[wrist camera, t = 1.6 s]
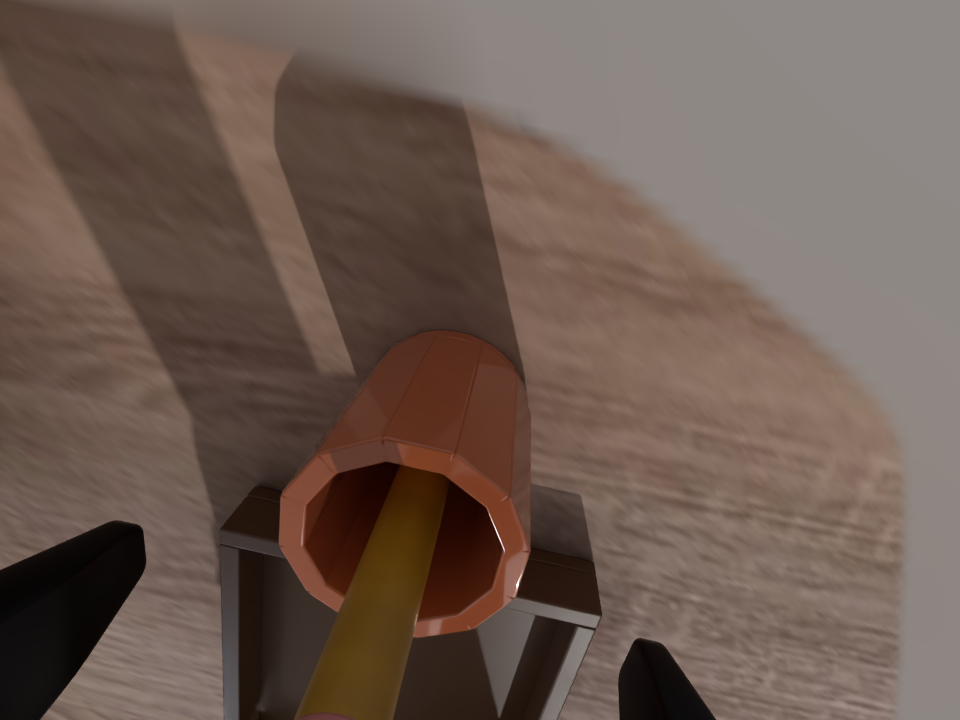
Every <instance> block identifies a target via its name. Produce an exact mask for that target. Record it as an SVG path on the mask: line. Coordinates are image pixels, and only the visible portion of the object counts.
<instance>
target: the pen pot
mask: <svg viewBox="0 0 960 720" xmlns="http://www.w3.org/2000/svg"><path fill="white" fill-rule="evenodd" d="M400 465H404V466H408V467H413V468H417V469H422V470H426V471H431V472H435V473H440V474H443V475H445V476H446V477H447V478H448V479H450V480H451V482H450V486H449V490H448V494H447V498H446V503H445V507H444V511H443V515H442V519H441V523H440V527H439V531H438V536H437V540H436V544H435V548H434V552H433V556H432V560H431V564H430V569H429V573H428V577H427V581H426V585H425V589H424V593H423V598H422V602H421V606H420V610H419V614H418V618H417V622H416V626H415V631H414V635H413V638H415V637H416V638H423V637H429V636H436V635H442V634H449V633H455V632H462V631H468V630H471V629H475V628H476V627H477V626H479V625H480V624H481V623H483V622H484V621H486V620H487V619H488V618H490V617H491V616H492V615H494V614H495V613H497V612H498V611H499V610H501V609H502V608H503V607H505V606H506V605H508V604H509V603H510V602H512V601H513V600H514V598H515V597H516V595H517V593H518V590H519V586H520V583H521V580H522V577H523V574H524V571H525V568H526V565H527V561H528V558H529V555H530V552H531V413H530V410H529V407H528V399H527V393H526V389H525V386H524V384H523V381H522V379H521V377H520V375H519V373H518V371H517V370H516V368H515V367H514V366H513V364H512V363H511V362H510V360H509V359H508V358H507V357H506V356H505V355H504V354H502V353H501V352H500V351H499V350H498V349H496V348H495V347H494V346H492V345H490V344H489V343H487V342H485V341H484V340H481V339H479V338H477V337H474V336H472V335H468V334H465V333H461V332H455V331H441V330H439V331H428V332H424V333H419V334H416V335H413V336H411V337H408V338H406V339H404V340H402V341H400V342H398V343H397V344H396V345H394V346H393V347H392V348H390V349H389V350H388V351H387V352H386V353H385V354H384V355H383V357H382V358H381V359H380V361H379V362H378V363H377V364H376V366H375V367H374V368H373V369H372V370H371V371H370V372H369V374H368V375H367V376H366V377H365V379H364V380H363V381H362V383H361V384H360V385H359V387H358V388H357V389H356V391H355V392H354V394H353V395H352V396H351V398H350V399H349V400H348V402H347V403H346V405H345V406H344V407H343V409H342V410H341V411H340V413H339V414H338V415H337V417H336V418H335V420H334V421H333V422H332V424H331V425H330V426H329V428H328V429H327V431H326V432H325V433H324V435H323V436H322V437H321V439H320V440H319V442H318V443H317V444H316V446H315V447H314V448H313V450H312V451H311V452H310V454H309V455H308V457H307V458H306V459H305V461H304V462H303V463H302V465H301V466H300V468H299V469H298V470H297V472H296V473H295V474H294V476H293V477H292V478H291V480H290V481H289V483H288V484H287V485H286V487H285V488H284V489H283V491H282V494H281V499H280V523H279V545H280V549H281V550H282V552H283V554H284V555H285V557H286V558H287V560H288V562H289V563H290V565H291V567H292V568H293V570H294V572H295V573H296V575H297V577H298V578H299V580H300V581H301V583H302V585H303V586H304V588H305V590H306V591H309V594H310V595H312V596H313V597H315V598H316V599H318V600H319V601H321V602H322V603H324V604H325V605H327V606H328V607H330V608H331V609H333V610H334V611H336V612H337V613H338V612H339V610H340V608H341V605H342V603H343V600H344V598H345V596H346V593H347V591H348V588H349V586H350V584H351V581H352V579H353V576H354V574H355V572H356V569H357V567H358V564H359V562H360V560H361V557H362V555H363V552H364V550H365V548H366V545H367V543H368V540H369V538H370V536H371V533H372V531H373V528H374V526H375V524H376V521H377V519H378V516H379V514H380V512H381V509H382V507H383V504H384V502H385V500H386V497H387V495H388V492H389V490H390V488H391V485H392V483H393V480H394V478H395V476H396V473H397V471H398V468H399V466H400Z"/></svg>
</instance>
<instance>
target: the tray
mask: <svg viewBox="0 0 960 720" xmlns="http://www.w3.org/2000/svg"><path fill="white" fill-rule="evenodd" d="M281 494H282V492H279V491H275V490H270V489H266V488H261V487H257V486H255V487H254V488H253V489H252V490H251V492H250V493H249V494H248V496H247V497H246V498H245V499H244V500H243V502H242V503H241V504H240V505H239V506H238V508H237V509H236V510H235V511H234V513H233V514H232V515H231V516H230V517H229V519H228V520H227V521H226V522H225V524H224V525H223V526H222V527H221V529H220V543H221V544H220V568H221V611H222V655H223V698H224V720H294V718H295V716H296V713H297V711H298V708H299V706H300V704H301V701H302V699H303V696H304V694H305V692H306V689H307V687H308V684H309V682H310V680H311V677H312V675H313V672H314V670H315V668H316V665H317V663H318V660H319V658H320V656H321V653H322V651H323V648H324V646H325V644H326V641H327V639H328V636H329V634H330V632H331V629H332V627H333V624H334V622H335V620H336V617H337V615H338V613H337V612H336V611H334V610H333V609H331V608H330V607H328V606H327V605H325V604H324V603H322V602H321V601H319V600H318V599H316V598H315V597H313V596H312V595H310V594H309V591H306V590H305V588H304V586H303V585H302V583H301V581H300V580H299V578H298V577H297V575H296V573H295V572H294V570H293V568H292V567H291V565H290V563H289V562H288V560H287V558H286V557H285V555H284V554H283V552H282V550H281V549H280V545H279V523H280V499H281ZM601 617H602V612H601V605H600V599H599V592H598V586H597V579H596V572H595V565H594V563H593V562H590V561H586V560H581V559H577V558H572V557H568V556H563V555H559V554H555V553H550V552H546V551H541V550H537V549H532V548H531V552H530V555H529V558H528V561H527V565H526V568H525V571H524V574H523V577H522V580H521V583H520V586H519V590H518V593H517V595H516V597H515V598H514V600H513V601H512V602H510V603H509V604H508V605H506V606H505V607H503V608H502V609H501V610H499V611H498V612H497V613H495V614H494V615H492V616H491V617H490V618H488V619H487V620H486V621H484V622H483V623H481V624H480V625H479V626H477V627H476V628H475V629H471V630H468V631H462V632H455V633H449V634H442V635H436V636H429V637H423V638H416V637H415V638H413V639H412V643H411V647H410V651H409V655H408V659H407V664H406V668H405V672H404V676H403V680H402V684H401V688H400V692H399V697H398V701H397V705H396V709H395V713H394V717H393V720H557V719H558V717H559V715H560V712H561V710H562V708H563V705H564V703H565V701H566V698H567V696H568V694H569V691H570V689H571V687H572V684H573V682H574V680H575V677H576V675H577V673H578V670H579V668H580V666H581V663H582V661H583V659H584V656H585V654H586V652H587V649H588V647H589V645H590V642H591V640H592V638H593V635H594V633H595V631H596V628H597V626H598V624H599V622H600V619H601Z"/></svg>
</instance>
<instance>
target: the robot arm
mask: <svg viewBox="0 0 960 720" xmlns="http://www.w3.org/2000/svg"><path fill="white" fill-rule="evenodd" d="M145 566H146V553H145V543H144V534H143V529H142V528H141V526H140V525H137V524H133V523H129V522H125V521H119V520H115V521H111V522H108V523H106V524H103V525H101V526H99V527H97V528H94V529H92V530H90V531H88V532H85V533H83V534H81V535H79V536H76V537H74V538H72V539H69V540H67V541H65V542H63V543H60V544H58V545H56V546H54V547H51V548H49V549H47V550H45V551H42V552H40V553H38V554H36V555H33V556H31V557H29V558H27V559H24V560H22V561H20V562H18V563H15V564H13V565H11V566H9V567H6V568H4V569H2V570H0V720H40V719H41V718H42V717H43V715H44V714H45V713H46V712H47V710H48V709H49V708H50V707H51V705H52V704H53V703H54V702H55V700H56V699H57V698H58V697H59V695H60V694H61V693H62V691H63V690H64V689H65V688H66V686H67V685H68V684H69V682H70V681H71V680H72V678H73V677H74V676H75V675H76V673H77V672H78V671H79V669H80V668H81V666H82V665H83V663H84V662H85V660H86V659H87V658H88V656H89V655H90V653H91V652H92V650H93V649H94V647H95V646H96V644H97V643H98V641H99V640H100V638H101V637H102V635H103V634H104V632H105V631H106V629H107V628H108V626H109V625H110V623H111V621H112V620H113V618H114V617H115V615H116V614H117V612H118V611H119V609H120V608H121V606H122V605H123V603H124V602H125V600H126V599H127V597H128V596H129V594H130V593H131V591H132V590H133V588H134V587H135V585H136V584H137V582H138V581H139V579H140V578H141V576H142V574H143V572H144V569H145ZM618 689H619V712H620V720H716V719H715V717H714V716H713V714H712V713H711V711H710V710H709V709H708V707H707V706H706V704H705V703H704V701H703V700H702V699H701V697H700V696H699V694H698V693H697V691H696V690H695V689H694V687H693V686H692V684H691V683H690V681H689V680H688V679H687V677H686V676H685V674H684V673H683V671H682V670H681V669H680V667H679V666H678V664H677V663H676V661H675V660H674V658H673V657H672V656H671V654H670V653H669V651H668V650H667V649H666V647H665V646H664V645H663V644H661V643H659V642H656V641H651V640H647V639H642V638H638V639H636V640H635V641H634V643H633V644H632V646H631V648H630V651H629V653H628V655H627V657H626V659H625V661H624V663H623V665H622V667H621V670H620V673H619V682H618Z"/></svg>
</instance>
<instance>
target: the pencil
mask: <svg viewBox="0 0 960 720" xmlns="http://www.w3.org/2000/svg"><path fill="white" fill-rule="evenodd" d="M450 482H451V480H450V479H448V478H447V477H446V476H445V475H443V474H440V473H435V472H431V471H426V470H422V469H417V468H413V467H408V466H404V465H400V466H399V468H398V471H397V473H396V476H395V478H394V480H393V483H392V485H391V488H390V490H389V492H388V495H387V497H386V500H385V502H384V504H383V507H382V509H381V512H380V514H379V516H378V519H377V521H376V524H375V526H374V528H373V531H372V533H371V536H370V538H369V540H368V543H367V545H366V548H365V550H364V552H363V555H362V557H361V560H360V562H359V564H358V567H357V569H356V572H355V574H354V576H353V579H352V581H351V584H350V586H349V588H348V591H347V593H346V596H345V598H344V600H343V603H342V605H341V608H340V610H339V612H338V615H337V617H336V620H335V622H334V624H333V627H332V629H331V632H330V634H329V636H328V639H327V641H326V644H325V646H324V648H323V651H322V653H321V656H320V658H319V660H318V663H317V665H316V668H315V670H314V672H313V675H312V677H311V680H310V682H309V684H308V687H307V689H306V692H305V694H304V696H303V699H302V701H301V704H300V706H299V708H298V711H297V713H296V716H295V718H294V720H393V717H394V713H395V709H396V705H397V701H398V697H399V692H400V688H401V684H402V680H403V676H404V672H405V668H406V664H407V659H408V655H409V651H410V647H411V643H412V639H413V635H414V631H415V626H416V622H417V618H418V614H419V610H420V606H421V602H422V598H423V593H424V589H425V585H426V581H427V577H428V573H429V569H430V564H431V560H432V556H433V552H434V548H435V544H436V540H437V536H438V531H439V527H440V523H441V519H442V515H443V511H444V507H445V503H446V498H447V494H448V490H449V486H450Z"/></svg>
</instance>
